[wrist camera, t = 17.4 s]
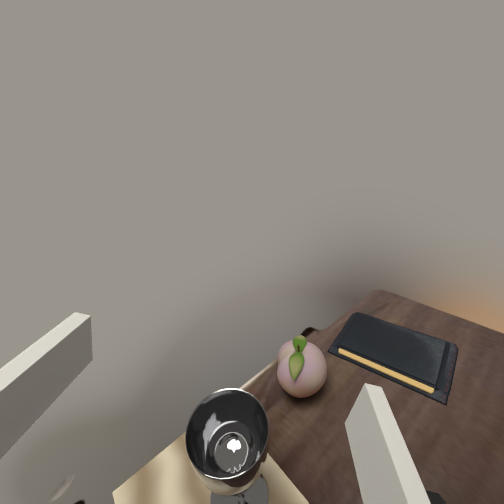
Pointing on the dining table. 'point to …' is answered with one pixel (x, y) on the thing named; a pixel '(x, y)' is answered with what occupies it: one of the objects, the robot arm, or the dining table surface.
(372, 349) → the wallet
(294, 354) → the decorative fruit
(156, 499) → the board
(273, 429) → the dining table surface
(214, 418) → the wine glass
